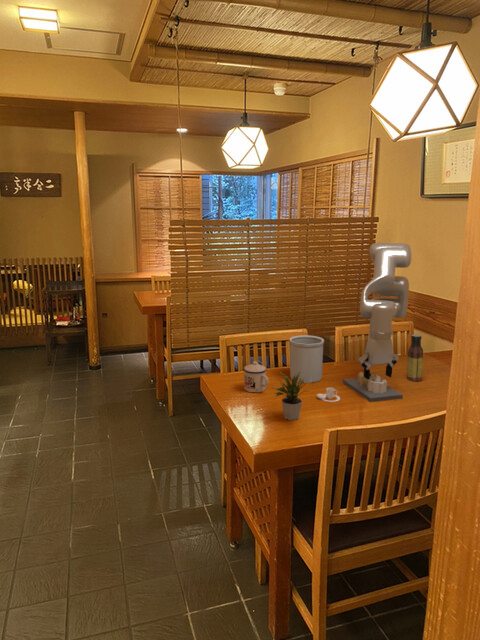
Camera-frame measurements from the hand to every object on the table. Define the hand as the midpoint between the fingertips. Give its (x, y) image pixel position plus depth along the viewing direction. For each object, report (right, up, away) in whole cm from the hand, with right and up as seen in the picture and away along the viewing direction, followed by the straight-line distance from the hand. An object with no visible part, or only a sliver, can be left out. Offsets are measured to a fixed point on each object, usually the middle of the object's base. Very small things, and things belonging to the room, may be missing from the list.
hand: (377, 377), depth 181 cm
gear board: (-1, -6, +5) cm, 8 cm away
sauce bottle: (+21, -3, +18) cm, 28 cm away
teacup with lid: (-48, -6, +5) cm, 48 cm away
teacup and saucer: (-21, -8, -1) cm, 23 cm away
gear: (0, -5, +1) cm, 5 cm away
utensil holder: (-26, -3, +20) cm, 33 cm away
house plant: (-37, -11, -20) cm, 43 cm away
